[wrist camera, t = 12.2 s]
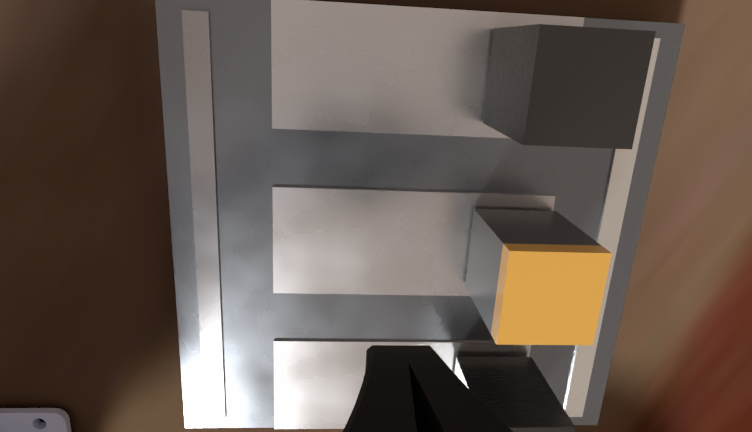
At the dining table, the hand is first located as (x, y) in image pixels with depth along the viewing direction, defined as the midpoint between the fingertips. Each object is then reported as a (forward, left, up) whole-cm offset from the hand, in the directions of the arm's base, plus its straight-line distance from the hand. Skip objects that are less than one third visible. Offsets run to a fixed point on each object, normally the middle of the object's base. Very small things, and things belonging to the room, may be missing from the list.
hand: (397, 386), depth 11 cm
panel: (+2, 0, -10) cm, 10 cm away
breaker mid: (+5, 0, -8) cm, 10 cm away
